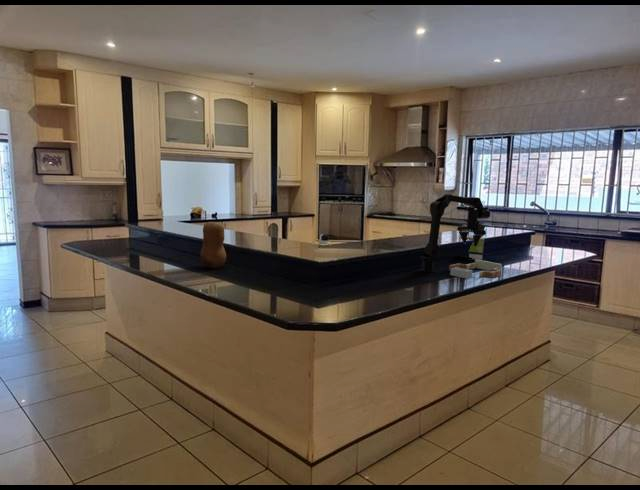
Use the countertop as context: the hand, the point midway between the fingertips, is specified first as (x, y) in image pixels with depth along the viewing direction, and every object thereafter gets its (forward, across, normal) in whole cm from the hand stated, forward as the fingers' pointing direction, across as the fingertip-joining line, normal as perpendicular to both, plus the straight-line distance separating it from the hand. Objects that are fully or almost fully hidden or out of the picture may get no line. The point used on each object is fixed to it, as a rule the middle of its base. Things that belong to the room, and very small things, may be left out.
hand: (469, 245), depth 266 cm
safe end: (+15, -4, -11) cm, 19 cm away
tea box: (+15, +30, -27) cm, 43 cm away
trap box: (+15, -8, -1) cm, 17 cm away
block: (+15, -14, +16) cm, 26 cm away
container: (+15, +60, +68) cm, 92 cm away
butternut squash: (+15, +32, +144) cm, 149 cm away
